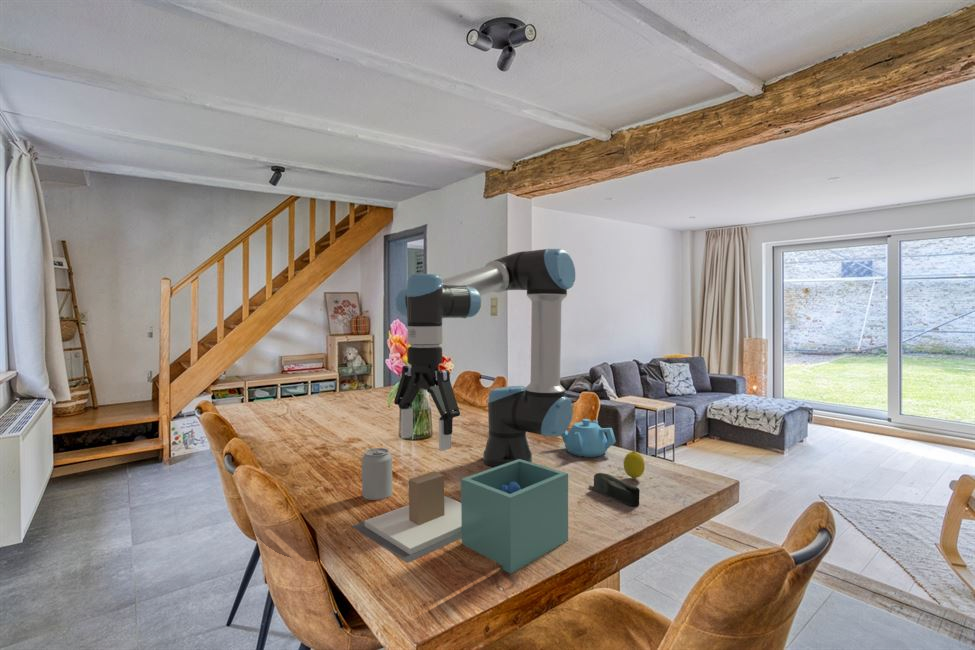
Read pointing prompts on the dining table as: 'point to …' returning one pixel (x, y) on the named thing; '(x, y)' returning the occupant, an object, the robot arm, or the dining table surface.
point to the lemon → (634, 464)
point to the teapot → (588, 439)
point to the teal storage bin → (515, 513)
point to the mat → (400, 552)
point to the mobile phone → (616, 489)
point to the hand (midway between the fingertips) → (425, 443)
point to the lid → (420, 516)
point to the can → (376, 474)
